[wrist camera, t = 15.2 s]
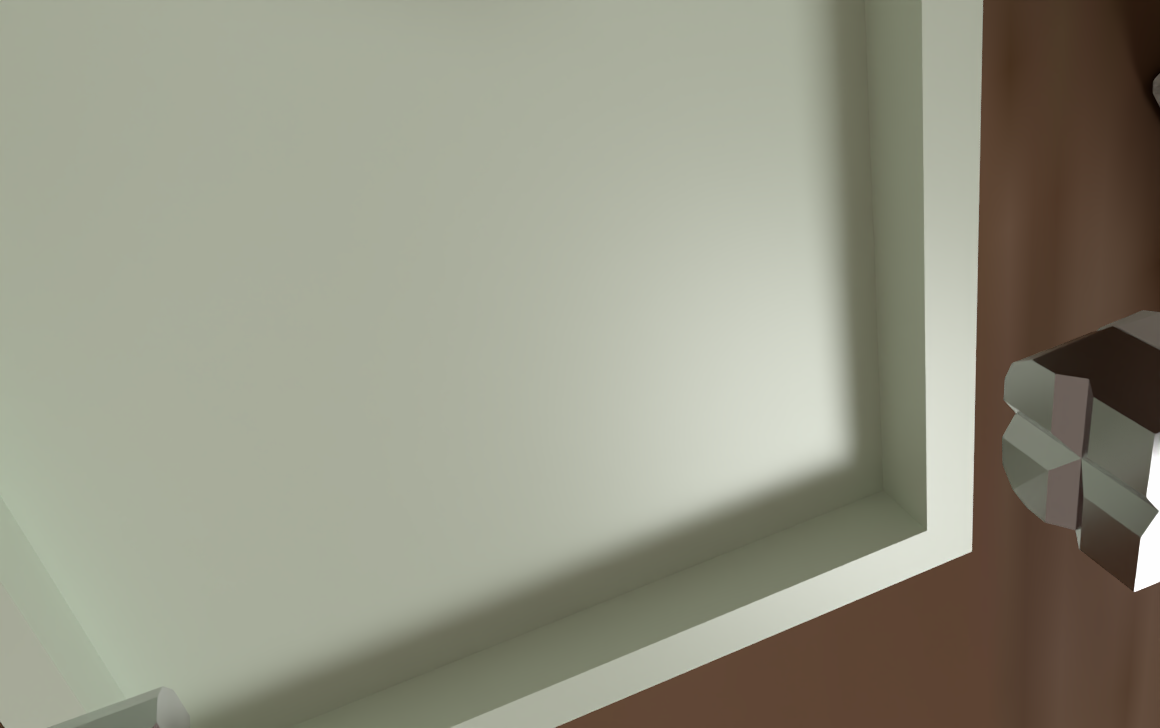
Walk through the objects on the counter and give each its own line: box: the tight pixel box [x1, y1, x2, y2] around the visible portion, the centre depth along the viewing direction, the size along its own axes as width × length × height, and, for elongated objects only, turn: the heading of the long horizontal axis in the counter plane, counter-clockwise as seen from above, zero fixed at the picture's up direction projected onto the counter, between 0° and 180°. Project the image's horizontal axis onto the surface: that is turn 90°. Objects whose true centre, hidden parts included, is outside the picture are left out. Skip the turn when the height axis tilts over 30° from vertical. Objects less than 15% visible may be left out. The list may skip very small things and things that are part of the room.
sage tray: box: [0, 0, 983, 728], centre depth 15 cm, size 16×16×2 cm
